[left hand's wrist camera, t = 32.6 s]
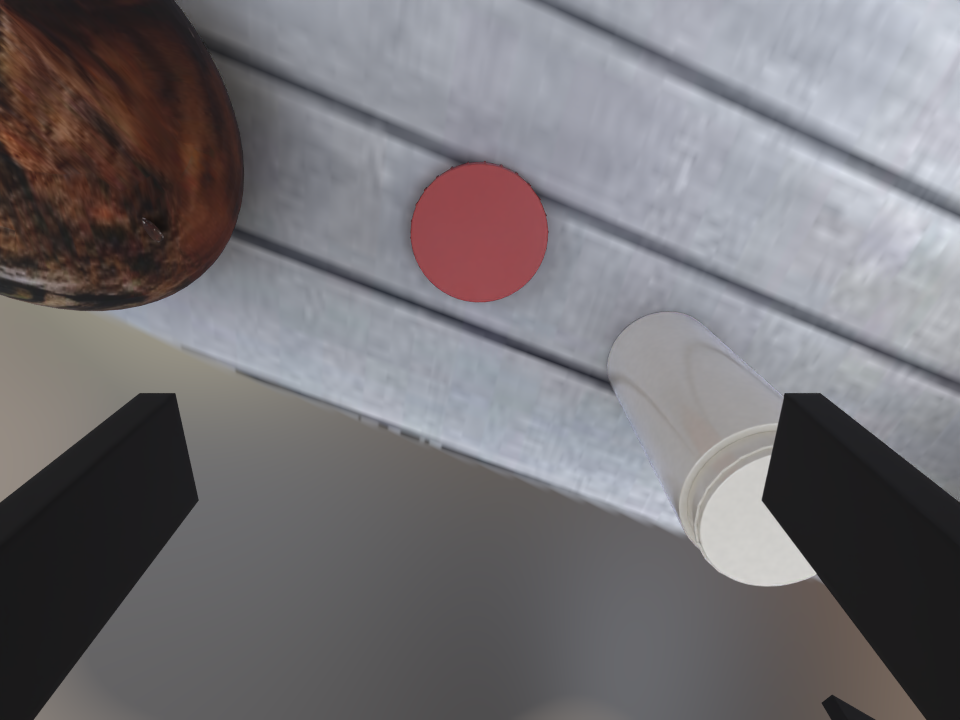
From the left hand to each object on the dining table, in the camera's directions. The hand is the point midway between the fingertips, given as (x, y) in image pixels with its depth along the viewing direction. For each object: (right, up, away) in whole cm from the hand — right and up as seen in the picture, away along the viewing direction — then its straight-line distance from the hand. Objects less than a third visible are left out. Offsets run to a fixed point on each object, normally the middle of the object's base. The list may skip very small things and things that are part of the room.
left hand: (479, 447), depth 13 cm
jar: (+14, +2, +31) cm, 34 cm away
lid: (0, +10, +26) cm, 28 cm away
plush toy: (-23, +18, +25) cm, 38 cm away
